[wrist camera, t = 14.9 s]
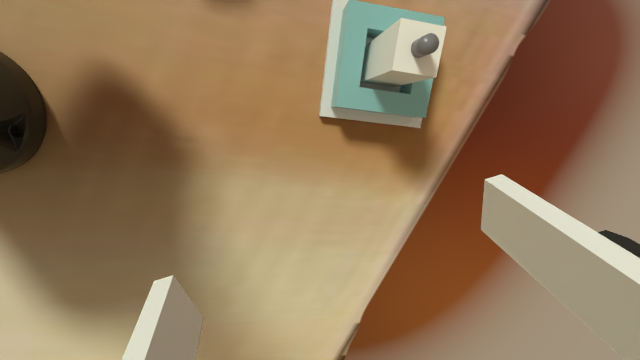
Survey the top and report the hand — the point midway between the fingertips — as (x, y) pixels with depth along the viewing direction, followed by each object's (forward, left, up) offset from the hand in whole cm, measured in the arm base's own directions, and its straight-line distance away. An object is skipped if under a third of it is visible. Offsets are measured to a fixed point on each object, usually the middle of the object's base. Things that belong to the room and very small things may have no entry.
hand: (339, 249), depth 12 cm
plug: (+14, +6, -27) cm, 31 cm away
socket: (+14, +6, -28) cm, 32 cm away
